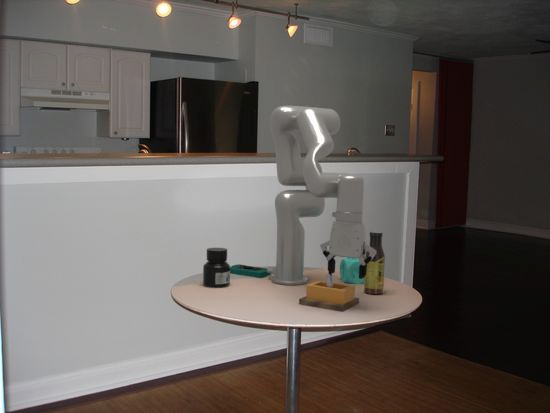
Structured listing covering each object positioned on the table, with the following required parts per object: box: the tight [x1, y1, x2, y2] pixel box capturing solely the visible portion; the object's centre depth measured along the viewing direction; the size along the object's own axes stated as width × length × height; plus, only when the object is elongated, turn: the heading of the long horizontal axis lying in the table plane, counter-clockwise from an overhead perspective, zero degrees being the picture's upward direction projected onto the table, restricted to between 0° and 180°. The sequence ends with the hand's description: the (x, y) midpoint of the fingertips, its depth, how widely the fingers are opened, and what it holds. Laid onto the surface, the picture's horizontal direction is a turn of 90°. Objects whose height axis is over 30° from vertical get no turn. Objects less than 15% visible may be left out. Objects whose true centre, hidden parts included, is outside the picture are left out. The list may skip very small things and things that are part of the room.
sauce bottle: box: [363, 230, 386, 295], centre depth 193 cm, size 6×6×20 cm
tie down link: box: [305, 280, 356, 305], centre depth 179 cm, size 12×8×4 cm, turn 60°
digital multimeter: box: [230, 264, 272, 279], centre depth 218 cm, size 7×15×3 cm, turn 59°
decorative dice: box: [339, 257, 364, 285], centre depth 210 cm, size 8×8×8 cm
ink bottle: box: [202, 247, 231, 288], centre depth 199 cm, size 10×9×12 cm
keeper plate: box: [298, 273, 360, 313], centre depth 179 cm, size 14×12×9 cm
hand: (346, 275), depth 176 cm, fingers open, 9 cm apart
